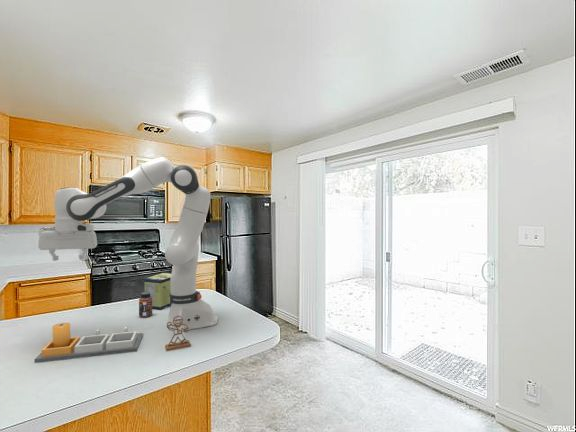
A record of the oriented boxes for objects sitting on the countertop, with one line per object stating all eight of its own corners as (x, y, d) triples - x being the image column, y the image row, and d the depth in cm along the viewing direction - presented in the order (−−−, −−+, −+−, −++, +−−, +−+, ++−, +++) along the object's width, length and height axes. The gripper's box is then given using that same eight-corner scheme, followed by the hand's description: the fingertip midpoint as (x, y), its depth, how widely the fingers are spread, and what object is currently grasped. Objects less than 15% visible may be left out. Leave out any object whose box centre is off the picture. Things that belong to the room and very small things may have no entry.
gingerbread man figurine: (188, 342, 124) (188, 312, 123) (190, 346, 120) (190, 315, 120) (165, 347, 119) (164, 316, 119) (166, 351, 116) (166, 319, 115)
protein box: (179, 301, 174) (179, 273, 174) (160, 310, 159) (160, 280, 159) (164, 299, 177) (164, 272, 177) (144, 308, 163) (143, 278, 162)
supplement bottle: (147, 318, 148) (147, 295, 147) (136, 317, 149) (135, 294, 149) (155, 314, 154) (154, 291, 153) (144, 313, 155) (144, 290, 154)
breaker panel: (143, 335, 129) (142, 324, 129) (136, 351, 116) (136, 338, 115) (52, 344, 120) (52, 332, 120) (34, 362, 107) (34, 349, 107)
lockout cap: (72, 345, 117) (72, 321, 117) (66, 352, 112) (66, 327, 112) (56, 347, 115) (56, 323, 115) (49, 353, 110) (49, 328, 110)
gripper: (34, 227, 123) (35, 262, 123) (93, 226, 128) (94, 260, 129) (42, 226, 129) (43, 259, 129) (98, 225, 134) (98, 257, 135)
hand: (68, 259), depth 129 cm, fingers open, 8 cm apart
